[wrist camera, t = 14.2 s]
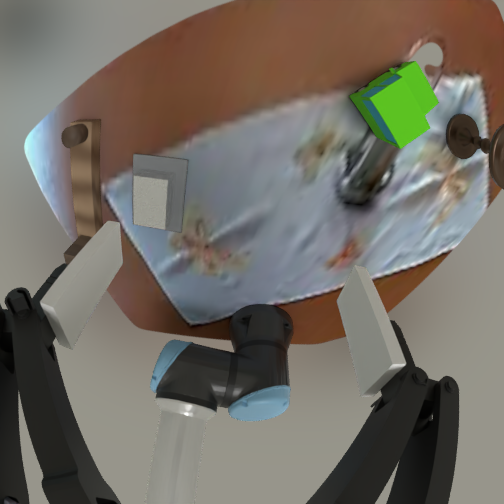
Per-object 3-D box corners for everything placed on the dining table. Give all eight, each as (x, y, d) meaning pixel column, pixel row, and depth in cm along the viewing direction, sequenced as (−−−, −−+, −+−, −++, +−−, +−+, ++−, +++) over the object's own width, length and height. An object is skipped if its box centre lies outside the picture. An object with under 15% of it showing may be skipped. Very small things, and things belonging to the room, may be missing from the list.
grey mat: (181, 231, 50) (181, 232, 50) (133, 223, 49) (132, 224, 49) (188, 159, 42) (187, 160, 42) (134, 153, 41) (133, 154, 41)
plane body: (104, 242, 52) (82, 270, 43) (86, 238, 51) (63, 265, 43) (100, 119, 38) (67, 129, 29) (79, 119, 37) (45, 130, 29)
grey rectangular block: (171, 219, 48) (165, 229, 45) (142, 214, 48) (133, 224, 44) (175, 172, 43) (167, 180, 40) (143, 168, 43) (133, 175, 39)
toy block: (428, 105, 34) (462, 113, 26) (376, 140, 39) (403, 155, 31) (399, 55, 30) (431, 51, 22) (342, 90, 35) (365, 91, 27)
